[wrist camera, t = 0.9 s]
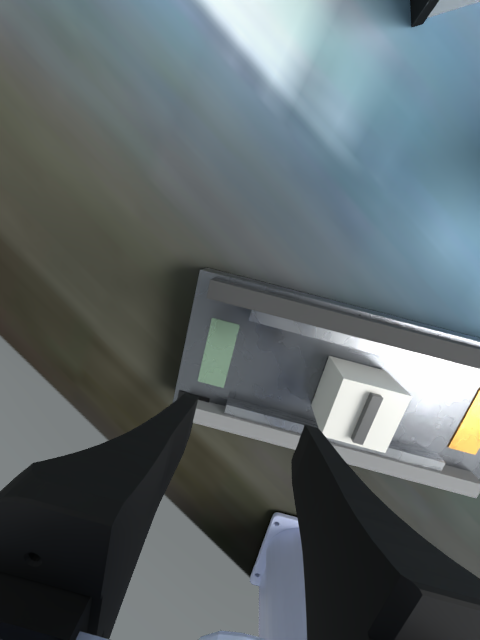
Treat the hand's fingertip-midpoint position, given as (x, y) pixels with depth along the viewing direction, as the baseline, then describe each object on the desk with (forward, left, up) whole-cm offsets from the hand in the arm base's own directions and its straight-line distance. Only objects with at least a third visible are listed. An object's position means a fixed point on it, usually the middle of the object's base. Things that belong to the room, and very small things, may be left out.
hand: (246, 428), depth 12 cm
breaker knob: (0, -7, -7) cm, 10 cm away
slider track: (0, -7, -10) cm, 12 cm away
